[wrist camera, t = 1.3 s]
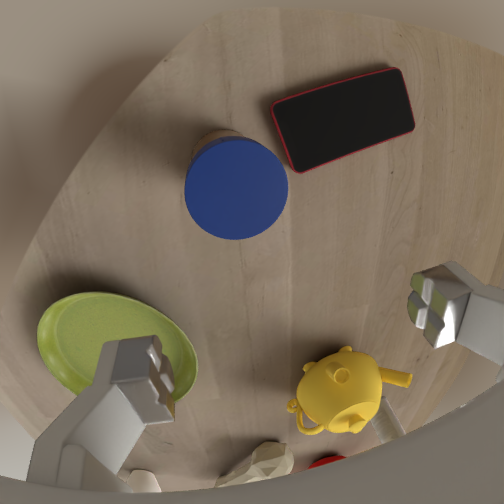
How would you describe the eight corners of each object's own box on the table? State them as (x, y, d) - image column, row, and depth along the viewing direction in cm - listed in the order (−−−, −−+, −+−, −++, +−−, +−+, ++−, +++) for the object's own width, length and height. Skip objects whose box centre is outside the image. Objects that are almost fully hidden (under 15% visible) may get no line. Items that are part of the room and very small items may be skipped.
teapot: (391, 339, 44) (426, 390, 34) (344, 397, 49) (368, 447, 39) (316, 324, 40) (348, 388, 30) (271, 391, 45) (289, 452, 35)
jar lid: (173, 150, 20) (170, 156, 18) (267, 124, 20) (276, 127, 18) (201, 236, 23) (202, 251, 21) (286, 211, 23) (296, 224, 21)
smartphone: (417, 130, 29) (295, 176, 29) (412, 129, 30) (292, 174, 30) (400, 65, 25) (267, 104, 26) (395, 66, 26) (265, 104, 27)
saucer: (157, 253, 32) (153, 268, 29) (219, 379, 42) (221, 396, 39) (17, 302, 31) (7, 317, 28) (96, 404, 41) (93, 420, 38)
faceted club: (302, 441, 53) (235, 482, 61) (266, 426, 52) (203, 470, 60) (303, 477, 44) (230, 511, 53) (263, 464, 43) (196, 500, 52)
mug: (134, 462, 51) (133, 512, 40) (170, 473, 55) (172, 520, 44) (112, 475, 54) (110, 518, 43) (145, 485, 57) (145, 527, 47)
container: (389, 400, 53) (421, 458, 40) (370, 413, 54) (399, 472, 41) (381, 393, 51) (415, 455, 38) (361, 407, 52) (391, 470, 39)
